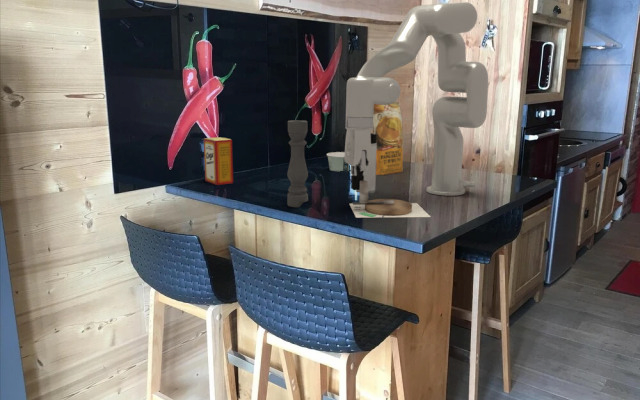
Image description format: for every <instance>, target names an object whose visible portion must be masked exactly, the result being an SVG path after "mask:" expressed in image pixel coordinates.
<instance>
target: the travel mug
mask: <svg viewBox="0 0 640 400" xmlns="http://www.w3.org/2000/svg"><path fill="white" fill-rule="evenodd" d="M370 134H371V159H370V164H369V165H368V166H366V171H365V172H364V180H366V181H369V183H368V194H375V193H376V178H377V175H376V147H377V145H376V144H377V143H376V142H377V141H376V140H377V134H373V132H372V133H371V132H370ZM355 191H356V193H360V190H355Z"/></svg>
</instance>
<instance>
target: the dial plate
mask: <svg viewBox="0 0 640 400" xmlns="http://www.w3.org/2000/svg"><path fill="white" fill-rule="evenodd" d="M410 203H411V202H410ZM411 204H412V211H411V212H410V213H407V214H402V215H381V214H375V213H371V212H368V211H366V210H365V205H353V203H349V206H350V208H351V210H352V213H353V214H354V217H355V218H357V219H358V218H359V219H360V218H371V219H373V218H431V215H430V214H429V213H428V212H426V210H424V209H423V207H421V206H420V205H419V204H418V203H417V202H412V203H411Z"/></svg>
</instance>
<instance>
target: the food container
mask: <svg viewBox="0 0 640 400" xmlns="http://www.w3.org/2000/svg"><path fill="white" fill-rule="evenodd" d="M326 156H327V159H328V160H327V161H328V166H329V167H328V168H329V170H330V171H333V172H340V171H344V172H350V171H349V164H348V163H346V162H345V160H344V156H345V151H341V152H340V151H336V152H333V151H332V152H328V153H326Z"/></svg>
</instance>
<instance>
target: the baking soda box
mask: <svg viewBox="0 0 640 400" xmlns="http://www.w3.org/2000/svg"><path fill="white" fill-rule="evenodd" d="M203 156H204V157H203V158H204V159H203V160H204V180H205V182H208V183H210V184H212V185H216V186H220V185H227V184H234V167H233V165H234V163H233V162H234V161H233V159H234V158H233V140H232V139H231V138H227V137H221V136H220V137H206V138H203Z"/></svg>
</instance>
